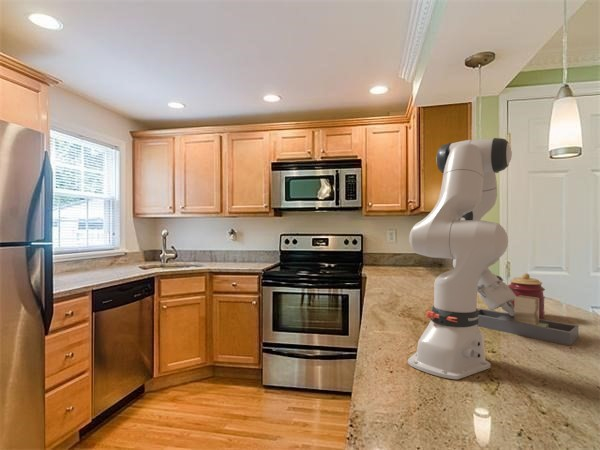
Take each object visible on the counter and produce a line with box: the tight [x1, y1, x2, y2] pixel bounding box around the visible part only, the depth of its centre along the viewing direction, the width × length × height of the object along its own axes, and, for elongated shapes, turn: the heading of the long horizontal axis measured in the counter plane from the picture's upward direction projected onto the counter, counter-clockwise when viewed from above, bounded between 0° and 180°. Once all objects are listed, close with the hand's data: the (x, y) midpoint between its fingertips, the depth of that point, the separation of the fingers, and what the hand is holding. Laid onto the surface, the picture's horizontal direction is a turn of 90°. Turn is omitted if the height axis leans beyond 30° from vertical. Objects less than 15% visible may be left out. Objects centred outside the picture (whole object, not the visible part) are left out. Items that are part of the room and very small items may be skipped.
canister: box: [507, 272, 546, 319], centre depth 145 cm, size 13×13×18 cm
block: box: [514, 295, 539, 325], centre depth 124 cm, size 6×6×9 cm
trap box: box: [477, 307, 580, 346], centre depth 125 cm, size 12×32×4 cm, turn 42°
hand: (515, 314), depth 126 cm, fingers closed
